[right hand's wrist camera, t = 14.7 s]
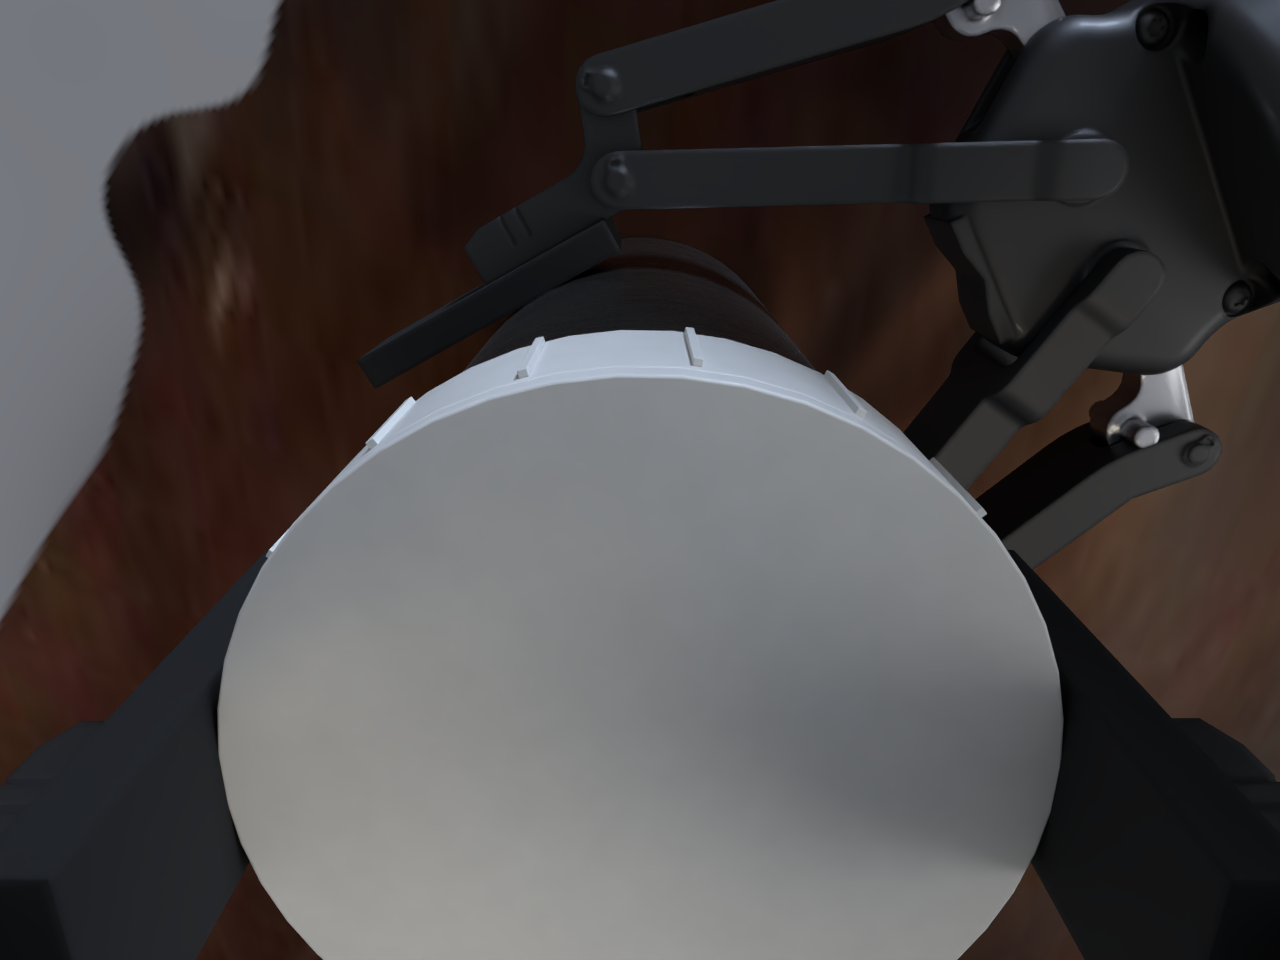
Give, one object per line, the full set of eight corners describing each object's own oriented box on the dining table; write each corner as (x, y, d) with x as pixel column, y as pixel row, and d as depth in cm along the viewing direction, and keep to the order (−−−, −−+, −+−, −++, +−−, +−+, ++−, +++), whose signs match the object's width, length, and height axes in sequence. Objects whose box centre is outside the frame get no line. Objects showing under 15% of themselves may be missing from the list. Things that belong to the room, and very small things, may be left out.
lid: (262, 883, 14) (190, 1021, 12) (319, 245, 11) (233, 269, 8) (867, 981, 15) (908, 1129, 13) (1099, 414, 11) (1212, 478, 9)
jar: (467, 269, 28) (151, 483, 10) (757, 209, 27) (988, 320, 9) (536, 533, 31) (392, 1063, 13) (798, 485, 30) (1030, 970, 12)
